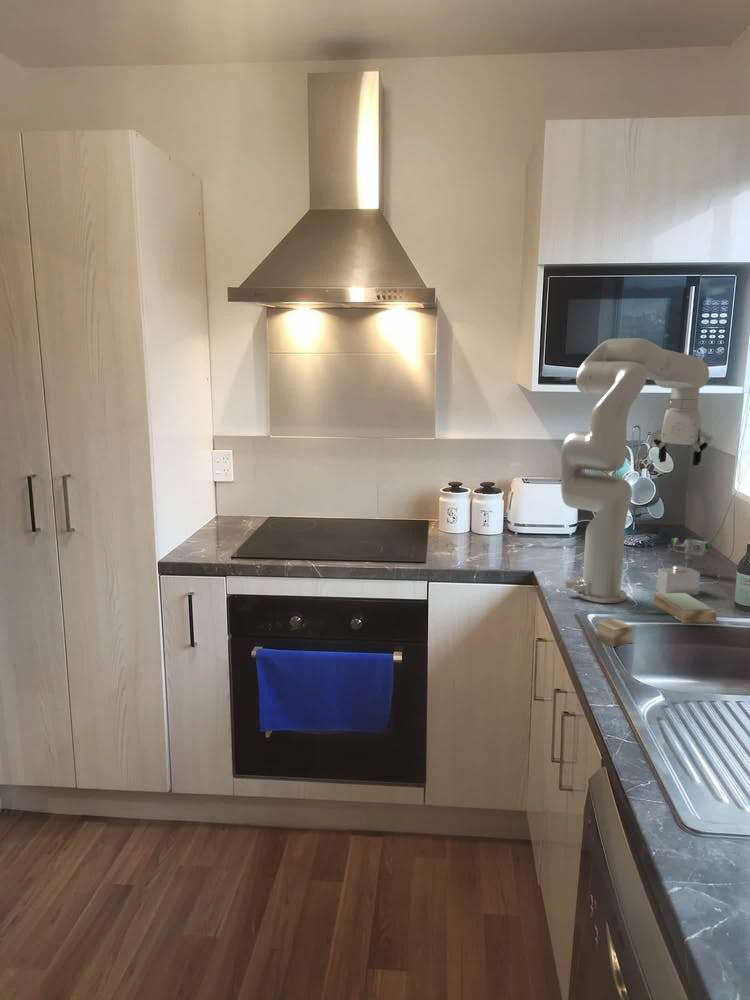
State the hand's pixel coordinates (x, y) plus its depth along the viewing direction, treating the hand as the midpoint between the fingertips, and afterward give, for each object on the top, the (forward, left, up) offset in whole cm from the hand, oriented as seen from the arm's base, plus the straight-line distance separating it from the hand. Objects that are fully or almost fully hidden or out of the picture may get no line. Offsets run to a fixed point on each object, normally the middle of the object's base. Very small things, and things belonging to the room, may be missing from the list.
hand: (678, 463), depth 212 cm
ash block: (-44, -59, -31) cm, 80 cm away
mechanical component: (0, -11, -31) cm, 33 cm away
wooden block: (-19, -43, -31) cm, 56 cm away
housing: (-12, -27, -31) cm, 43 cm away
